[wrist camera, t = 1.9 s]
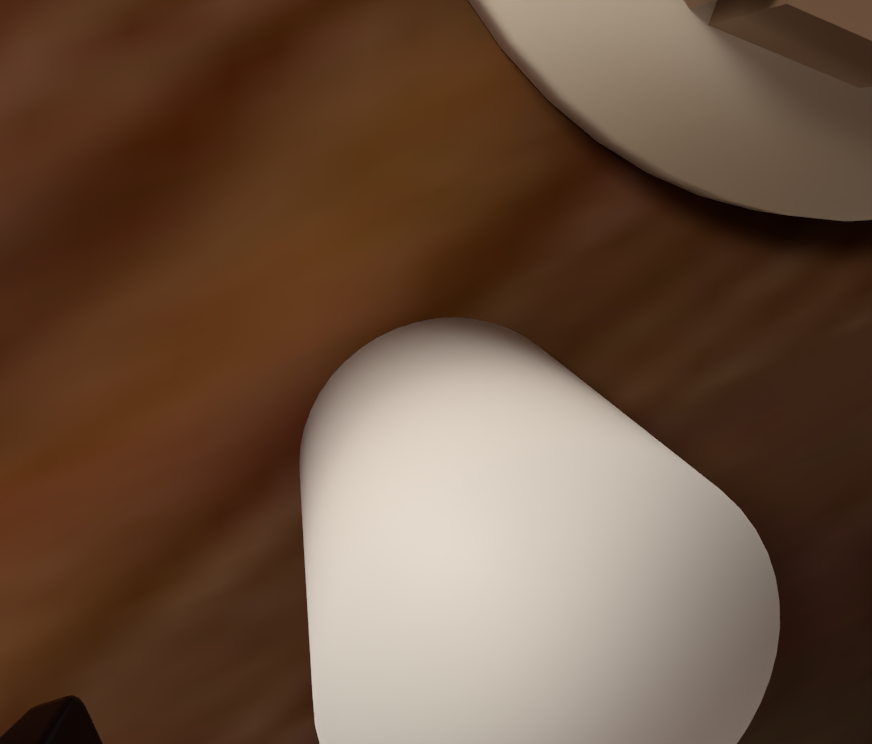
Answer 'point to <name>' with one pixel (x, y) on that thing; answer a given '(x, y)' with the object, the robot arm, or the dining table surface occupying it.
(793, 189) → the tray
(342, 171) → the dining table surface
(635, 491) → the white cylinder
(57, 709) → the robot arm
